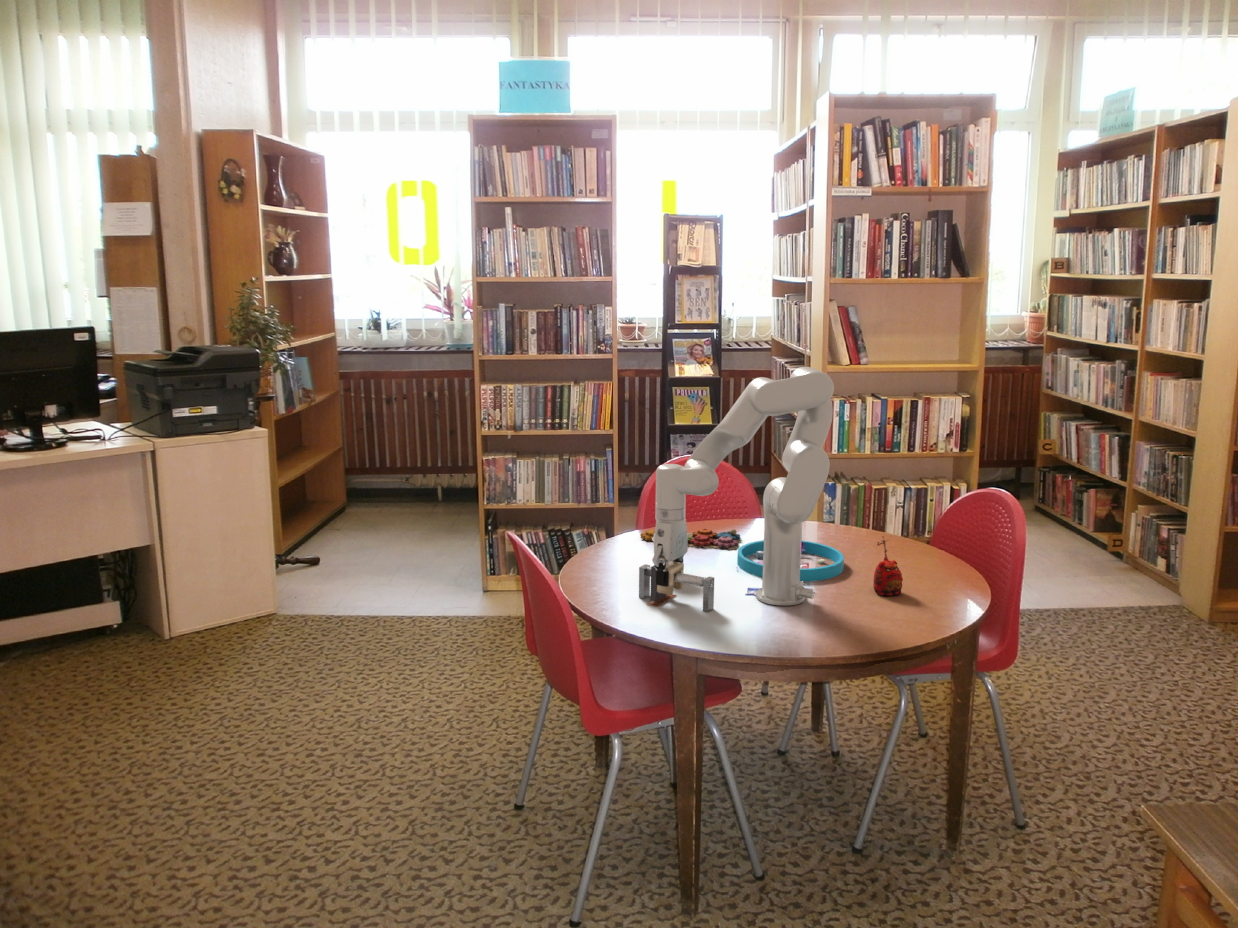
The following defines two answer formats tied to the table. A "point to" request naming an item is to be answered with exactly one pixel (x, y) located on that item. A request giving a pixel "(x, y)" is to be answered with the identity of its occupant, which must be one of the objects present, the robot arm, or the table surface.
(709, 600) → the grey long flanged piece
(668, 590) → the sleeve
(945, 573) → the table surface
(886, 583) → the red clay folk toy
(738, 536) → the gear puzzle
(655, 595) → the dark grey u-shaped piece
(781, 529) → the robot arm
